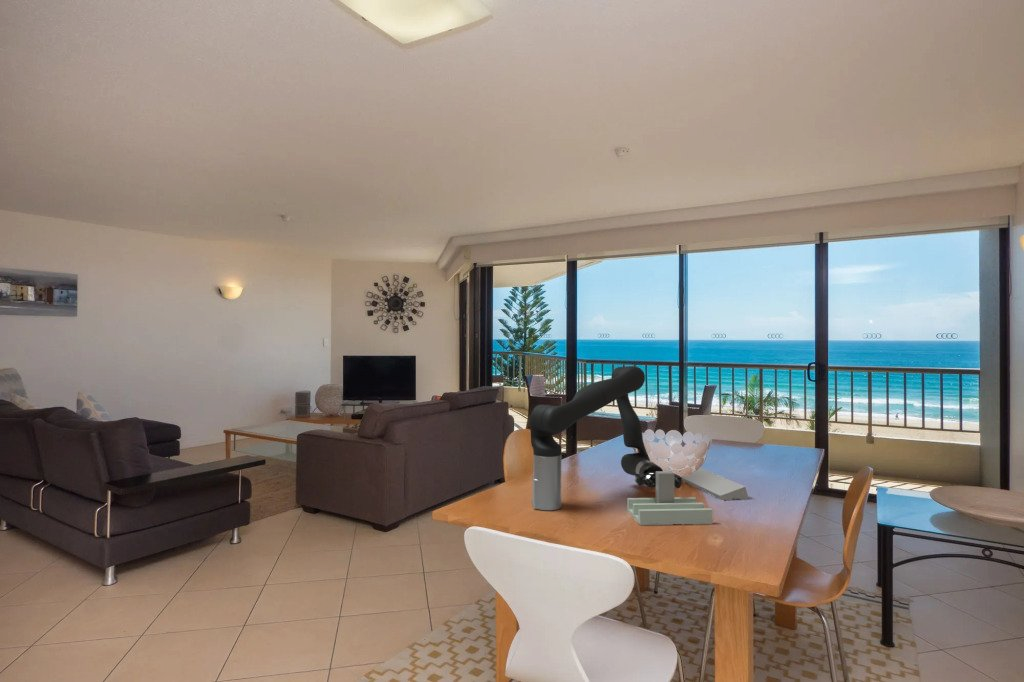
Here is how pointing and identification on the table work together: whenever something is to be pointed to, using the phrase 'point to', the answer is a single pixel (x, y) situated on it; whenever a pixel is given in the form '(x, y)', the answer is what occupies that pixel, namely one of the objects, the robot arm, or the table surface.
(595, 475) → the table surface
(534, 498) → the robot arm
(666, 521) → the pale green ridged block
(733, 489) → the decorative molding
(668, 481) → the grey rectangular block
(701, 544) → the table surface
